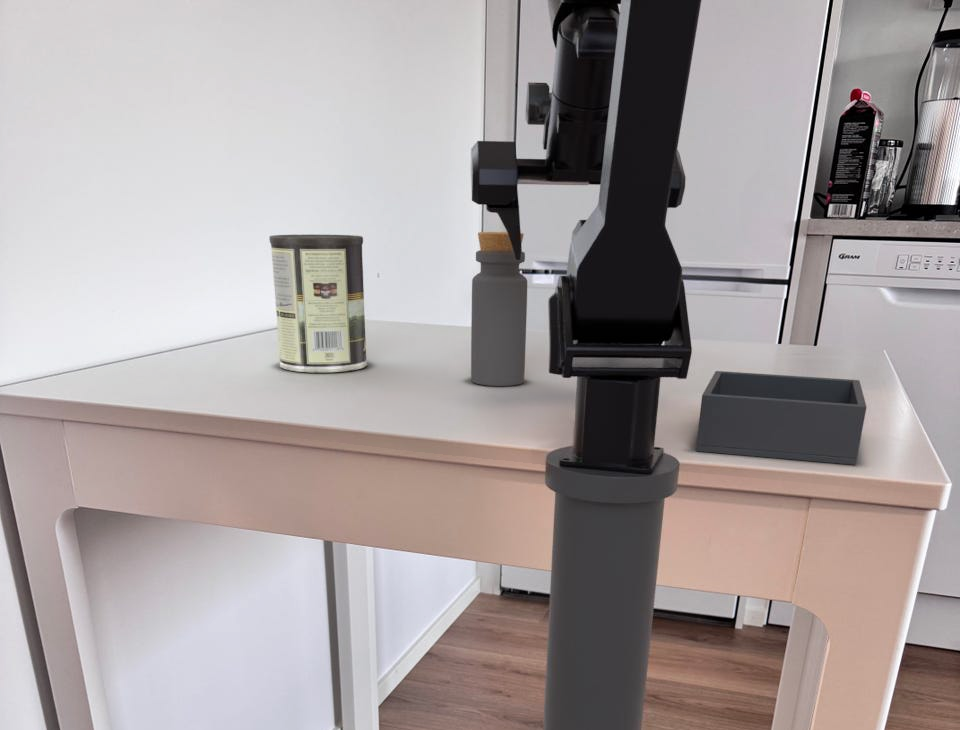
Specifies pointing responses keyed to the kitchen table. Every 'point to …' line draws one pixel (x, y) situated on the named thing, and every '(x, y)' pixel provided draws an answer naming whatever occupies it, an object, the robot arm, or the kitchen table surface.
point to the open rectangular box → (782, 417)
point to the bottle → (498, 313)
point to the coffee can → (319, 302)
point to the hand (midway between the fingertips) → (565, 258)
